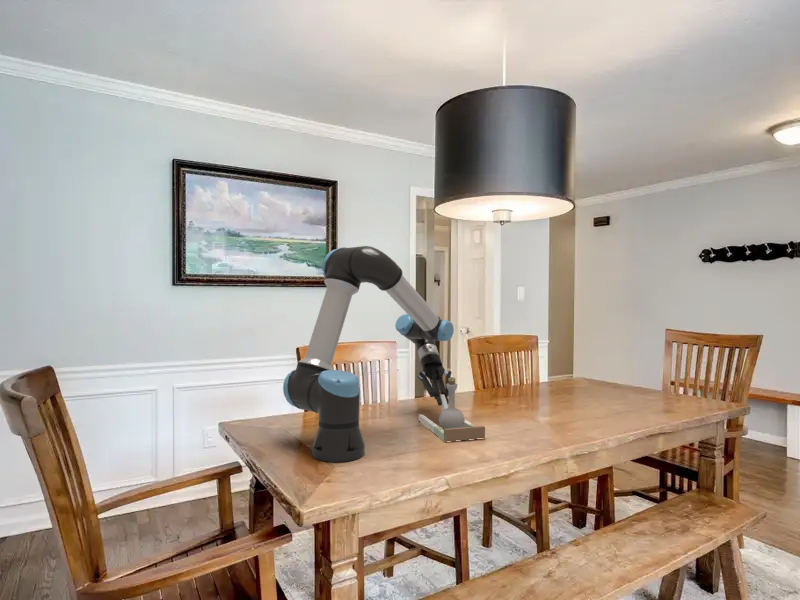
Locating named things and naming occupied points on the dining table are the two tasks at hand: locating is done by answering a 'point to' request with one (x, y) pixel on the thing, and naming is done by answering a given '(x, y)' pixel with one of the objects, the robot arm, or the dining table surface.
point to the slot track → (454, 430)
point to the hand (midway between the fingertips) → (446, 412)
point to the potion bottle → (451, 410)
